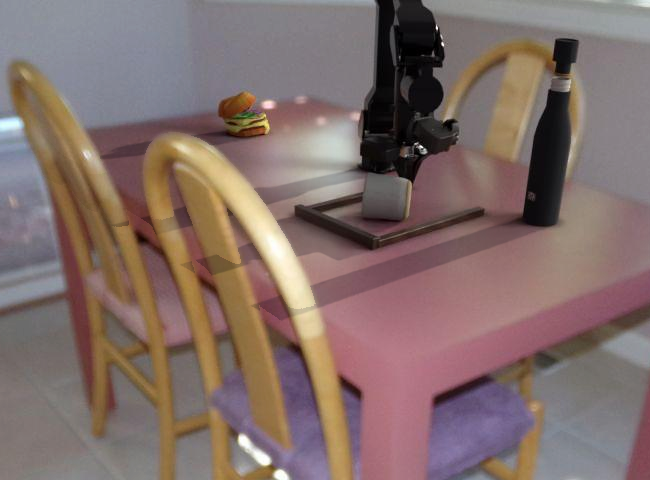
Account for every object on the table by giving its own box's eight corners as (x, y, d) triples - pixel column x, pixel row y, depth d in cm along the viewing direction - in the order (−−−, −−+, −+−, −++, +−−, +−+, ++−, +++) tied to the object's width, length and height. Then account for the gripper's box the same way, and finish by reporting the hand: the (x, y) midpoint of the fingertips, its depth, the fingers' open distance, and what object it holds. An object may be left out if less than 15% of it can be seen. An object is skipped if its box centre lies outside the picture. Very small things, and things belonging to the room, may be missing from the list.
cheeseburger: (267, 138, 181) (255, 94, 176) (223, 148, 182) (209, 104, 177) (273, 127, 190) (262, 84, 185) (230, 136, 191) (217, 93, 186)
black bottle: (560, 217, 145) (590, 39, 129) (555, 228, 140) (585, 44, 124) (525, 212, 146) (550, 35, 131) (518, 222, 141) (544, 40, 126)
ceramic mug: (408, 227, 137) (411, 182, 133) (360, 223, 137) (362, 179, 133) (411, 207, 146) (413, 165, 142) (366, 204, 146) (368, 162, 142)
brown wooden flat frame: (405, 186, 156) (406, 177, 155) (484, 214, 144) (485, 205, 143) (294, 215, 139) (294, 205, 138) (372, 249, 127) (373, 239, 126)
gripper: (407, 117, 123) (403, 214, 131) (484, 100, 135) (475, 191, 143) (358, 104, 130) (357, 197, 138) (435, 89, 141) (430, 176, 149)
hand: (407, 190), depth 142 cm, fingers closed
